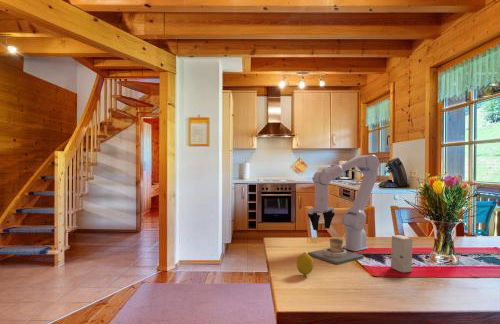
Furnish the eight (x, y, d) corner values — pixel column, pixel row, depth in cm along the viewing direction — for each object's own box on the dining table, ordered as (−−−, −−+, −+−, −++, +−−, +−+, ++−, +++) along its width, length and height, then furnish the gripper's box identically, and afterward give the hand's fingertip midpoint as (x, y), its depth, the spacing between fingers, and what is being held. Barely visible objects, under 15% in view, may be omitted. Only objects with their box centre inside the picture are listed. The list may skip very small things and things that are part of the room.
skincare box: (390, 267, 118) (390, 235, 118) (400, 266, 119) (400, 234, 119) (402, 273, 112) (402, 238, 112) (413, 272, 113) (412, 238, 113)
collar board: (333, 249, 143) (333, 243, 144) (363, 258, 130) (363, 252, 130) (307, 254, 135) (307, 249, 135) (337, 264, 121) (337, 258, 121)
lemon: (303, 279, 105) (303, 255, 105) (293, 274, 110) (293, 251, 110) (316, 276, 108) (316, 253, 108) (306, 272, 113) (306, 249, 113)
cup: (335, 252, 136) (335, 237, 136) (345, 254, 131) (345, 240, 132) (327, 253, 133) (327, 239, 133) (337, 256, 128) (337, 241, 128)
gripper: (316, 200, 133) (316, 232, 133) (339, 198, 141) (339, 228, 141) (304, 198, 139) (304, 229, 138) (327, 197, 147) (327, 226, 147)
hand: (321, 229), depth 140 cm, fingers open, 7 cm apart
